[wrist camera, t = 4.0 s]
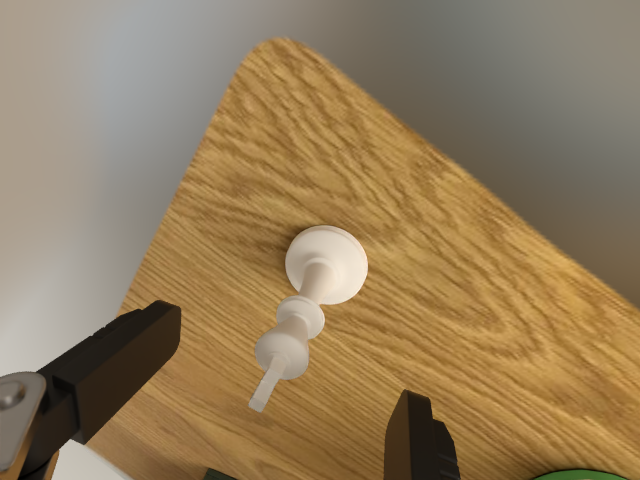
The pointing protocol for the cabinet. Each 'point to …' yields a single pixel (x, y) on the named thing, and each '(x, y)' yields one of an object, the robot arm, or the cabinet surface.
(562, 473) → the cup
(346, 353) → the cabinet surface
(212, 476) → the bin
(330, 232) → the chess piece
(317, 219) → the cabinet surface
